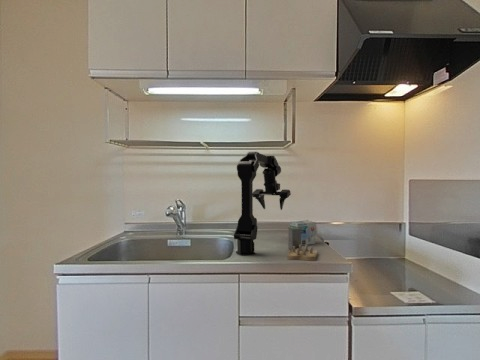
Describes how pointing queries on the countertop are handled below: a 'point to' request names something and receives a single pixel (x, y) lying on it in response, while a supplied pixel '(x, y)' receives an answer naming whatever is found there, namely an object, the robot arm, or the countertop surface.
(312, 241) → the light bulb box
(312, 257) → the wooden peg board
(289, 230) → the block
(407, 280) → the countertop surface
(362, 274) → the countertop surface
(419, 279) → the countertop surface
